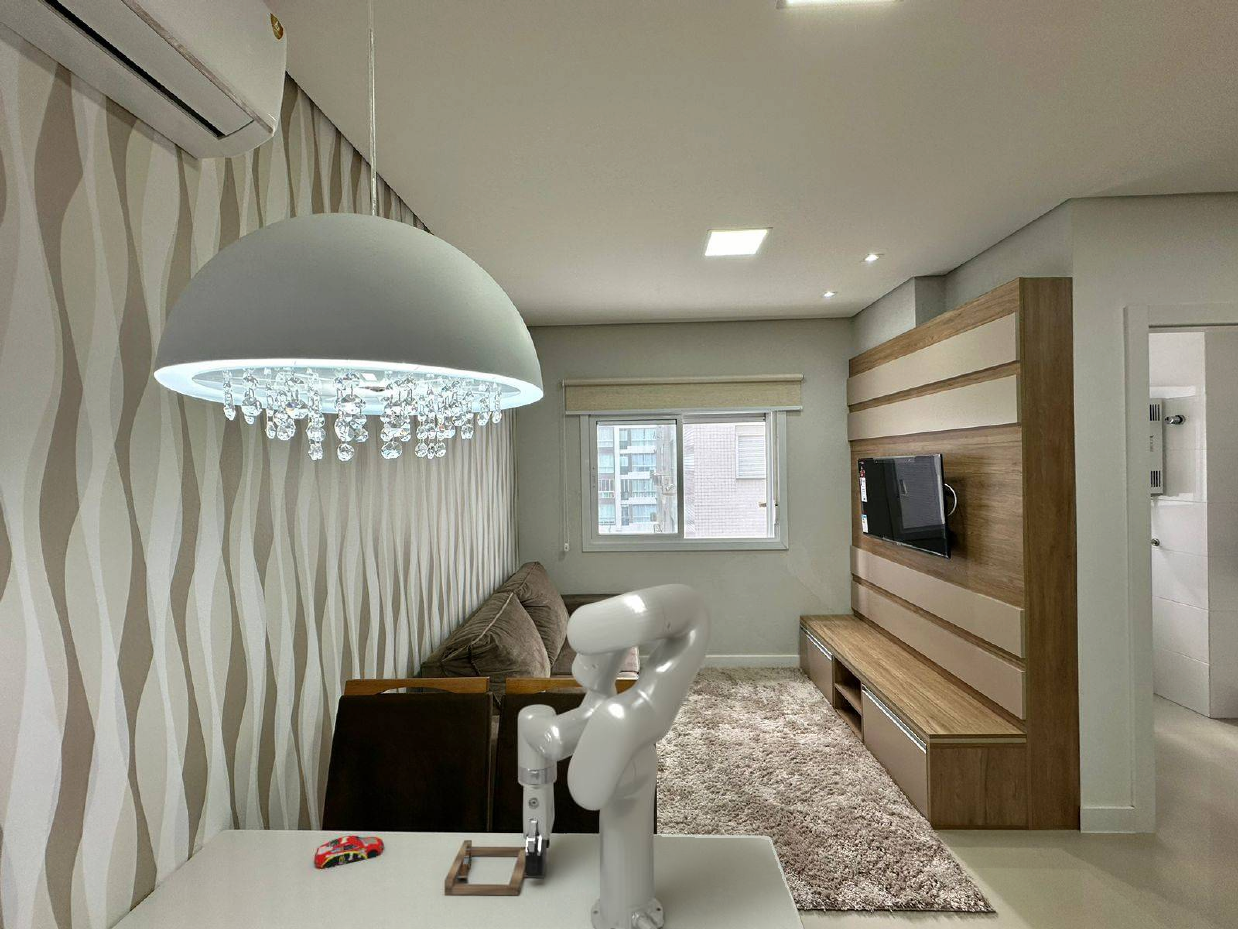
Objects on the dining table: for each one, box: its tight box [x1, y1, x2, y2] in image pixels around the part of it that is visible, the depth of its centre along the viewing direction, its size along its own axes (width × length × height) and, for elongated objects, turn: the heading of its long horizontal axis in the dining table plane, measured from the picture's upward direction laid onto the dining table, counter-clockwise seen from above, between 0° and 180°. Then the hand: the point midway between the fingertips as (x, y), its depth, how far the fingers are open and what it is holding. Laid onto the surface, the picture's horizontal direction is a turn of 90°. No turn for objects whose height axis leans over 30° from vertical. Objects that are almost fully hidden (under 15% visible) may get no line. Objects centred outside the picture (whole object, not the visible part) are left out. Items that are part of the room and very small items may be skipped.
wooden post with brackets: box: [457, 842, 473, 884], centre depth 133 cm, size 2×8×4 cm, turn 2°
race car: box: [314, 835, 385, 869], centre depth 139 cm, size 13×5×4 cm, turn 114°
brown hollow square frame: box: [444, 834, 547, 896], centre depth 132 cm, size 14×18×7 cm
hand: (537, 860), depth 132 cm, fingers open, 9 cm apart
